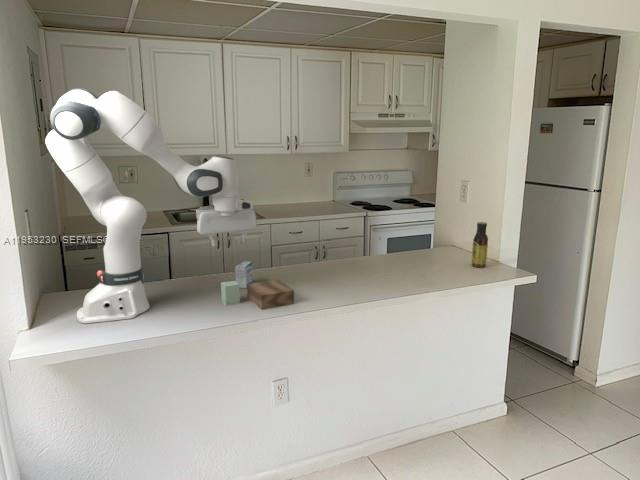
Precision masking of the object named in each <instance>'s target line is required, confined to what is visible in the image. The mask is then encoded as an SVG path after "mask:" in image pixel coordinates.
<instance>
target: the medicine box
mask: <svg viewBox="0 0 640 480" xmlns="http://www.w3.org/2000/svg"><path fill="white" fill-rule="evenodd" d="M253 266H254V265H253V261H247V260H245V261H241V262H240V263H239V264H237V265H236V266H235V267H234V272H235V281H236V282H237V283H238V284H239V289H247V284H252V283H254V268H253Z"/></svg>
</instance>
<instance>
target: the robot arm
mask: <svg viewBox="0 0 640 480" xmlns="http://www.w3.org/2000/svg"><path fill="white" fill-rule="evenodd" d="M49 116H50V117H49V119H50V125H51V127H52V130H50V131H49V132H48V134H47V135H46V137H45V140H44V141H45V145H46V148H47V150H48V152H49V154H50V155H51V157H52V159H53V160H54V162H55V163H56V164H57V166H58V167H59V168H60V170H61V171H62V173H64V175H65V176H66V178H67V179H68V180H69V181H70V183H71V184H72V185H73V186H74V188H75V189H76V191H78V193H79V195H80V196H81V197H82V199H83V200H84V203H85V205H86V206H87V208H88V209H89V211H90V213H91V215H92V216H93V218H94V219H95V220H96V221H97V222H98V223H99V224H101V225H102V226H105V227H106V239H105V244H104V245H103V248H102V251H103V259H104V261H103V262H104V268H105V270H98V271H97V272H96V275H97V278H99V283H98V284H97V285H96V286H94V287H93V288H92V289H91V290H89V291H88V292H87V293H86V295H85V296H84V299H83V304H82V307H80V308H79V309H78V310H77V312H76V319H77V321H78V322H79V323H82V324H92V323H103V322H111V321H119V320H130V319H134V318H135V317H138V315H139V314H142V313H144V312H147V311H148V310H149V309H150V306H151V305H150V303H149V300H148V298H147V295H146V291H145V285H144V284H145V276H144V270H143V267H142V261H141V247H140V245H141V243H140V242H141V238H142V237H141V235H142V230H143V226H144V225H145V224H146V221H147V217H148V216H147V211H146V208H145V206H144V205H143V204H142V203H140V202H139V201H138V200H137V199H135V198H133V197H130V196H125V195H124V194H122V193H121V192H120V190H119V189H118V188H117V185H116V183H115V181H114V178H113V174H112V172H111V171H110V169H109V168H108V167H107V165H106V164H105V163H104V161H103V160H102V159H101V157H100V155H98V153H97V152H96V150H95V149H94V148H93V146H92V145H91V144H90V141H89V140H88V138H87V137H88V136H89V135H91V134H93V133H96V132H97V131H99V130H100V129H101V128H104V129H107V130H109V131H111V133H113V134H114V135H115V136H116V137H117V138H119V139H120V141H122V142H123V143H125V144H126V145H128V147H130V148H132V149H134V151H135V150H136V151H137V152H138V153H141V154H143V155H146V156H147V157H149V158H151V159H152V160H153V161H155V162H156V163H157V164H158V165H159V166H160V167H161V168H163V169H164V170H165V171H166V172H167V173H169V175H171V177H172V178H173V179H174V181H175V184H176V186H177V188H178V189H179V190H180V191H181V192H182V193H184V194H187V195H191V196H194V197H197V198H204V197H209V196H212V197H211V198H212V205H206V206H202V205H201V206H200V207H198V208H197V209H196V211H195V218H196V220H197V221H196V231H197V232H198V233H199V235H207V237H208V238H209V239H210V240H211V245H212V246H211V247H218V240H216V239H214V238H213V237H215V236H214V235H215V234H221V233H230V232H238V231H239V232H240V233H241V236H239V237H237V238H238V244H244V243H245V237H246V236H247V233H248V231H249V230H255V229H256V228H257V226H258V223H257V222H258V221H257V216H256V211H255V210H254V203H253V202H251V201H248V200H245V199H243V198H240V194H239V189H238V188H239V181H240V180H239V171H238V165H237V162H236V160H235V159H234V158H232V157H229V156H228V157H227V156H221V155H213V156H212V157H211V158H210V159H209V160H207V161H205V162H203V163H202V164H199V165H196V164H195V165H194V164H191V163H188V162H186V161H185V160H183V158H181V157H180V156H179V154H177V153H176V152H175V151H174V150H173V149H171V147H169V145H168V144H167V143H166V142H165V139H164V136H163V130H162V128H161V127H160V125H159V124H158V123H157V121H156V120H155V119H154V118H153V116H151V115H150V114H149V113H148V112H147V111H145V110H144V109H143V108H142V107H141V106H140V105H138V104H137V103H136V102H135V101H133V100H132V99H130V98H129V97H127V96H126V95H124V94H123V93H121V92H119V91H117V90H110V91H108V92H105V93H103V94H102V95H100V97H99V98H98V96H97V95H96V94H95V93H94V92H92V91H91V90H88V89H86V88H80V87H78V88H72V89H70V90H68V91H67V92H65V94H63V95H62V96H61V97H60V98H59V99H57V102H56V104H55V105H54V106H53V107H52V109H51V111H50V115H49Z"/></svg>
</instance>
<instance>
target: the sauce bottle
mask: <svg viewBox="0 0 640 480" xmlns="http://www.w3.org/2000/svg"><path fill="white" fill-rule="evenodd" d="M476 226H477V228H476V233H475V235H474V238H473V239H472V240H473V241H472V251H471V266H473V267H474V268H485V267H486V266H487V265H486V264H487V259H488V258H487V257H488V256H487V255H488V246H489V245H488V242H489V237H488V235H487V227H488V223H487V222H484V221H482V222H481V221H479V222H477V223H476Z"/></svg>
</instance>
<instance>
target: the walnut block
mask: <svg viewBox="0 0 640 480" xmlns="http://www.w3.org/2000/svg"><path fill="white" fill-rule="evenodd" d="M246 290H247V291H246V293H247V298H248V299H249V300H250V301H251V302H252V303H253V304H254V305H256V306H257V307H258V308H259V309H261V310H267V309H273V308H276V307H277V308H279V307H284V306H289V305H293V304H295V290H294V289H293V288H291V287H290V286H288V285H287V284H285V283H284V282H282V281H281V280H279V279H278V278H277V279H272V280H265V281H259V282H253V283H252V284H247V288H246Z"/></svg>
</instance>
